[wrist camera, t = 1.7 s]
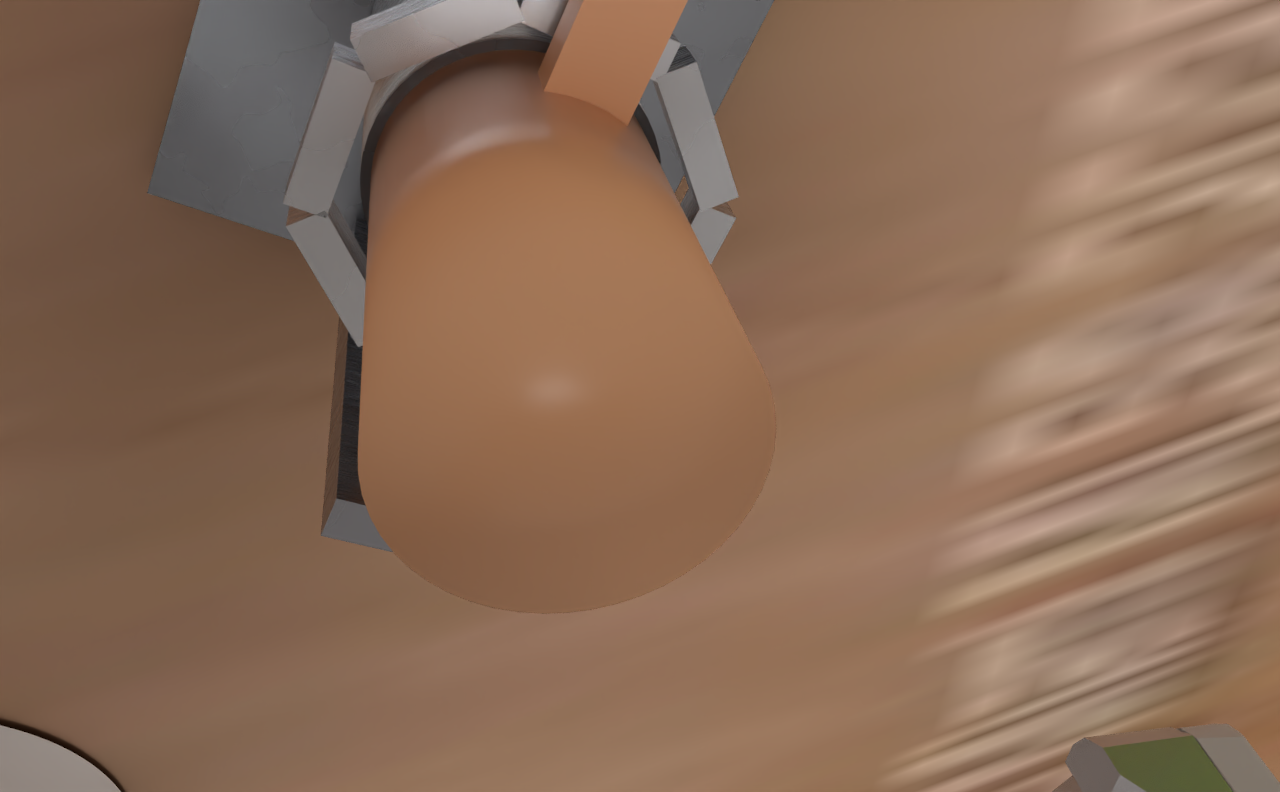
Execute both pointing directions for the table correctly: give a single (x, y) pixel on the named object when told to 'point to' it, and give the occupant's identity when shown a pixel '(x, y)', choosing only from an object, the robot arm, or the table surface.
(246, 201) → the grey ridged piece
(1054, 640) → the table surface
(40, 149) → the table surface
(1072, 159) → the table surface
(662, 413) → the tan rounded piece
